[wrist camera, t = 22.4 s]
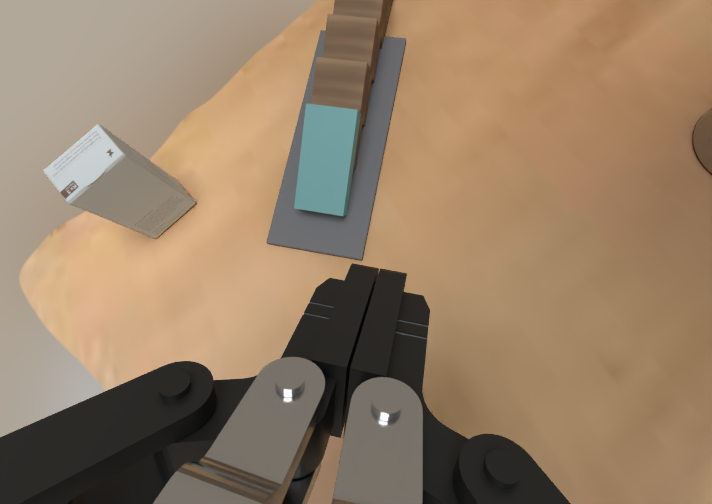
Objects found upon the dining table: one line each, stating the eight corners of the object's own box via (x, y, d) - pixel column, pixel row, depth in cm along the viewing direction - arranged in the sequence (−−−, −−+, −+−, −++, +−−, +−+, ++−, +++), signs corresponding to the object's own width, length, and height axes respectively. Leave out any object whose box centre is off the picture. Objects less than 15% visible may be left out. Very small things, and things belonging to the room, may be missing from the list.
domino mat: (362, 260, 40) (361, 259, 40) (267, 243, 41) (266, 242, 41) (406, 41, 46) (406, 38, 45) (321, 33, 47) (321, 30, 47)
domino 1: (372, 78, 42) (386, -27, 40) (326, 73, 43) (338, -31, 41) (374, 82, 44) (388, -18, 42) (330, 77, 45) (342, -22, 43)
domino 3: (352, 168, 40) (367, 62, 38) (304, 161, 41) (316, 56, 39) (355, 168, 42) (369, 68, 40) (310, 162, 43) (321, 63, 41)
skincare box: (175, 178, 44) (97, 116, 33) (199, 205, 43) (127, 151, 32) (132, 215, 44) (37, 167, 32) (156, 243, 43) (65, 203, 31)
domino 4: (343, 216, 39) (357, 109, 37) (294, 208, 40) (306, 103, 38) (346, 214, 41) (361, 113, 39) (300, 207, 42) (311, 107, 40)
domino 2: (362, 123, 41) (376, 18, 39) (315, 117, 42) (327, 14, 40) (364, 126, 43) (379, 26, 41) (320, 120, 44) (332, 22, 42)
